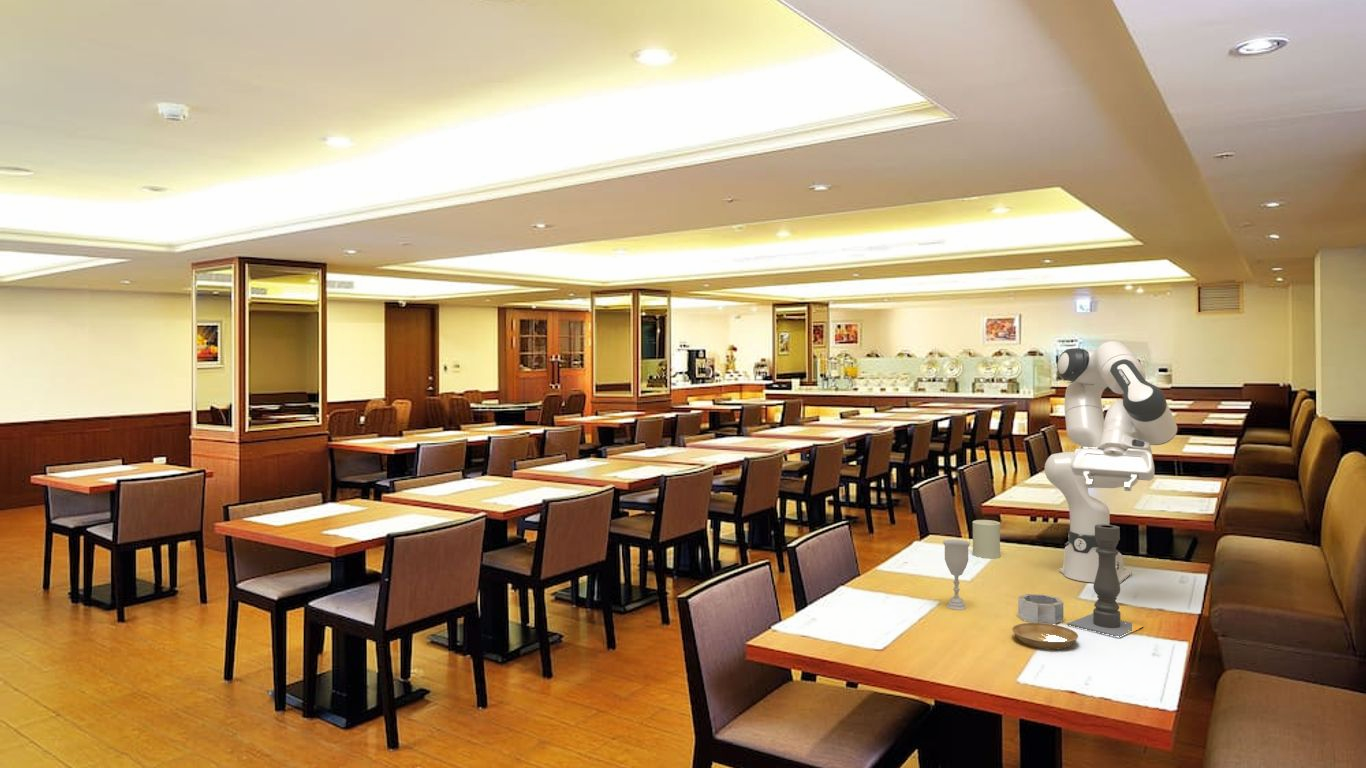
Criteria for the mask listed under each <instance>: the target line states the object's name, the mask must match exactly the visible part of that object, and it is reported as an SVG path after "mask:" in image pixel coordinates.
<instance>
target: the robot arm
mask: <svg viewBox="0 0 1366 768" xmlns="http://www.w3.org/2000/svg"><path fill="white" fill-rule="evenodd" d="M1056 367H1057V369H1056V370H1057V373H1058V375H1059V377H1060V378H1061V379H1064V380H1066V381H1068V382H1071V383H1069V384H1068V386H1067V387H1066V390H1065V394H1064V416H1065V429H1066V435H1067V437H1068V439H1070V440H1071V442H1072V443H1074V444H1077V445H1078V446H1081V447H1077V448H1076V449H1075V450H1074V451H1063V452H1058V453H1052V454H1050V456H1048V457H1047V459H1046V461H1045V463H1044V474H1045V477H1046V479H1047V480H1048V481H1049V483H1051V484H1052V485H1053V486H1054V487H1056V488H1057V489H1058V490H1059V491H1060V492H1061V493H1062V495H1063V496H1064V498H1065V499H1066V503H1067V505H1068V511H1069V513H1068V514H1069V530H1068V535H1067V536H1068V545H1066V546H1065V547H1064V554H1063V565H1062V567H1060V568H1059V573H1061V574H1063V575H1064V576H1065V577H1067V578H1068V579H1071V580H1074V581H1079V582H1086V583H1094V582H1095V578H1096V574H1097V571H1098V567H1099V555H1098V553H1097V552H1096V549H1097V548H1098V547H1099V546H1098V544H1097V542H1096V539H1095V525H1099V524H1106V525H1111V524H1110V523H1111V522H1110V520H1111V519H1110V518H1111V517H1110V516H1111V515H1110V509H1109V507H1108V505H1107V504H1106V503H1104V502H1103V501H1101V500H1100V499H1097V498H1095V497H1092V496H1091V495H1090V493H1089V489H1093V488H1094V489H1102V488H1103V489H1116V488H1124V491H1125V492H1131V491H1132V488H1133V486H1135V485H1136V484H1137V483H1138V481H1152V480H1153V479H1155V478H1154V477H1155V463H1154V459H1153V450H1152V447H1151V446H1160V445H1162V446H1163V445H1165V444H1167V443H1170V441H1171V440H1173V438H1175V436H1177V433H1178V429H1179V428H1178V424H1177V423H1176V420H1175V418H1174V415H1173V414H1172V412H1171V411H1172V410H1171V409H1170V407H1169V404H1168V403H1167V399H1166V396H1165V394H1164V391H1163V390H1162V389H1161V388H1160V387H1158V386H1156V385H1155V384H1152V383H1150V382H1148V381H1147V380H1146V374H1145V373H1146V372H1145V371H1144V368H1143V366H1142V364H1141V362H1140V361H1139V359H1138V357H1136V355H1135V354H1134V353H1133V352H1132V350H1130V349H1129V348H1128V347H1127V346H1126V345H1125V344H1123V343H1122V342H1119V341H1117V340H1116V341H1115V340H1109V341H1106V342H1104V343H1101V344H1100V345H1099V346H1098V347H1097V348H1096V349H1095V350H1093V349H1085V348H1073V347H1072V348H1068V349H1065V350H1064V351H1062V352H1061V354H1060V355H1059V357H1058V360H1057V363H1056ZM1104 391H1105V392H1106V393H1108V394H1109V393H1115V394H1118V395H1122V396H1123V397H1122V398H1120V399H1117V400H1115V401H1114V402H1112V404H1110V406H1109V407H1108V409H1107V411H1106V414H1105V417H1104V411H1103V409H1104V408H1103V403H1102V395H1103V392H1104ZM1115 568H1116V572H1117V576H1118V580H1119V584H1121V583H1123V582H1124V581H1125V580H1126V578H1127V577H1128V576H1129V575H1130V576H1132V575H1133V571H1132V570H1130V569H1127V568H1125V567H1124V556H1123V555H1122V553H1121V552H1120V551H1119V552H1118V554H1117V555H1116V556H1115ZM1131 574H1132V575H1131ZM1130 576H1129V577H1130ZM1129 577H1128V578H1129ZM1128 578H1127V579H1128ZM1124 579H1125V580H1124ZM1123 580H1124V581H1123ZM1122 581H1123V582H1122Z"/></svg>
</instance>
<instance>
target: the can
mask: <svg viewBox="0 0 1366 768" xmlns="http://www.w3.org/2000/svg"><path fill="white" fill-rule="evenodd" d="M971 555H972V556H973V555H974V557H975V556H976V557H977V558H979V557H981V558H980V559H998V558H1000V557H1002V556H1001V522H999V521H998V520H997V521H996V520H990V519H976V520H973V521H972V553H971Z"/></svg>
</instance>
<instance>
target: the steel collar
mask: <svg viewBox="0 0 1366 768" xmlns="http://www.w3.org/2000/svg"><path fill="white" fill-rule="evenodd" d="M1017 606H1018V607H1017V614H1018V615H1017V616H1018V617H1019V618H1020V619H1021V620H1022V621H1024V622H1026V623H1046V624H1056V623H1058V622H1061V621H1063V622H1064V601H1063V600H1061V599H1060V597H1057V596H1053V595H1047V594H1044V593H1025V594H1023V595H1022V594H1021V595H1019V596H1018V597H1017ZM1061 623H1062V622H1061ZM1058 624H1059V623H1058ZM1056 625H1057V624H1056Z"/></svg>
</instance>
